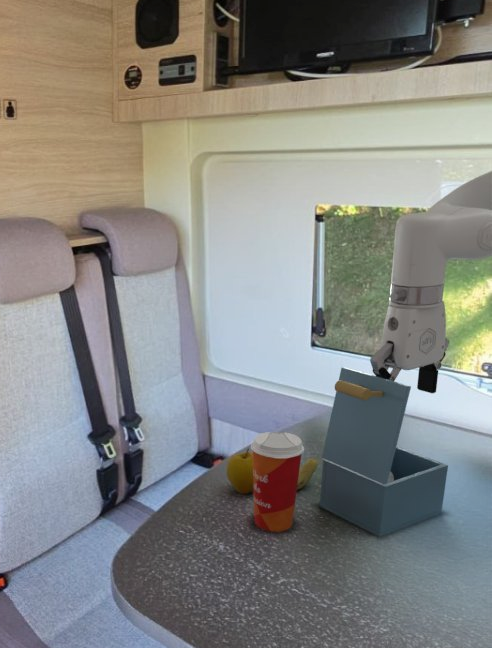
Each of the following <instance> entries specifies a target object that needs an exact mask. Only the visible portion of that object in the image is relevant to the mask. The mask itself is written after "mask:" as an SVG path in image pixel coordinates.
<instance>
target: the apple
mask: <svg viewBox="0 0 492 648" xmlns="http://www.w3.org/2000/svg"><path fill="white" fill-rule="evenodd" d="M226 476H227V479H228V481H229V483H230V484H231V485H232V486H233V488H234V489H235V490H236V491H237V492H238V493H239V494H240V495H247V494H251V493H254V483H253V452H252V451H251V452H250V448H249V447H248V448H247V450H246V451H245V452H240V453H236V454H234V455H232V456H231V457H230V458H229V460H228V462H227V464H226Z"/></svg>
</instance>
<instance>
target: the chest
mask: <svg viewBox="0 0 492 648" xmlns="http://www.w3.org/2000/svg"><path fill="white" fill-rule="evenodd" d="M448 468H449V465H448V464H446V463H443V462H440V461H439V460H435V459H432V458H430V457H427V456H424V455H422V454H418V453H416V452H413V451H411V450H409V449H406V448H403V447H400V446H398V445H397V446H396V450H395V454H394V458H393V462H392V466H391V470H390V471H391V473H392V474H393V477H394V480H393V481H392V482H389V483H387V484H382V483H380V482H377V481H375V480H373V479H370V478H368V477H366V476H363V475H361V474H359V473H357V472H354V471H352V470H350V469H347V468H345V467H343V466H341V465H338V464H336V463H334V462H331V461H329V460H327V459H323V460H322V469H321V471H322V472H321V483H320V484H321V485H320V497H319V500H320V501H319V507H320V508H323V509H324V510H325V511H326V510H327V511H328V512H330V513H332V514H334V515H336V516H338V517H340V518H342V519H344V520H346V521H348V522H350V523H352V524H353V525H356V526H357V527H360V528H361V529H363V530H365V531H367V532H369V533H371V534H373V535H375V536H376V537H379V538H380V537H383V536H385V535H388V534H391V533H393V532H396V531H398V530H401V529H404V528H406V527H409V526H412V525H414V524H417V523H419V522H422V521H424V520H425V521H426V520H427V519H430V518H432V517H435V516H437V515H441V514H442V511H443V504H444V498H445V497H444V496H445V489H446V485H447V484H446V483H447V477H448V476H447V475H448V471H449V469H448Z"/></svg>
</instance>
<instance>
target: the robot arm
mask: <svg viewBox="0 0 492 648" xmlns="http://www.w3.org/2000/svg"><path fill="white" fill-rule="evenodd" d="M392 255H393V257H392V267H391V281H390V291H389V304H388V307H387V309H386V310H387V311H386V314H385V318H384V324H383V327H382V328H383V329H382V334H381V343H380V348H379V350H378V351H376V352H375V353H374V354H373V355H372V356H371V357H370V359H369V362H370V365H371V368H372V373H373V374H374V376H377V377H380V378H384V379H387V380H391V381H394V382H396V379H397V378H398V376H399V374H400V373H401V371H411V370H415V369H418V368H419V369H418V376H417V385H416V389H417V390H419V391H421V392H426V393H429V394H435V393H436V392H437V387H438V378H439V370H440V369H441V368H442V362H443V360H444V359H445V357H446V352H447V349H448V348H449V344H450V341H451V340H450V339H449V338H447V337H446V335H447V334H446V332H447V331H446V330H447V329H446V328H447V317H446V315H447V314H446V304H445V301H444V300H443V298H444V287H445V279H446V269H447V261H448V260H471V261H472V260H473V261H476V260H483V259H486V258H489V257H492V170H490V171H488V172H486V173H483V174H481V175H478V176H476V177H474V178H472V179H470V180H468V181H467V182H465V183H463V184H461V185H460V186H458V187H457V188H455V189H453V190H452V191H450V192H449V193H448V194H446V195H445V196H443V197H442V198H441V199H439V200H437V202H435V203H434V204H433V205H432V206H430V208H429V209H428V210H427V211H425V212H413V213H412V212H411V213H406V214H403V215H402V216H400V217H399V218H398V219H397V221H396V224H395V231H394V243H393V254H392ZM389 369H392V370H391V371H390V372H389Z"/></svg>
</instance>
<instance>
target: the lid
mask: <svg viewBox="0 0 492 648" xmlns="http://www.w3.org/2000/svg"><path fill="white" fill-rule="evenodd" d="M411 388H412V386H411V385H408V384H405V383H402V382H397V381H391V380H387V379H384V378H380V377H377V376H376V375H373V374H370V373H366V372H362V371H359V370H356V369H352V368H348V367H344V366H343V367H341V368H340V372H339V377H338V381H336V382H335V384H334V391H335V396H334V399H333V403H332V404H333V405H332V409H331V414H330V419H329V422H328V427H327V432H326V436H325V441H324V445H323V450H322V455H321V458H322V459H323V460H325V459H327V460H329V461H331V462H334V463H336V464H338V465H341V466H343V467H345V468H347V469H350V470H352V471H354V472H357V473H359V474H361V475H363V476H366V477H368V478H370V479H373V480H375V481H377V482H380V483H382V484H387V482H388V478H389V474H390V470H391V466H392V462H393V458H394V454H395V450H396V446H398V445H397V444H398V442H399V438H400V433H401V429H402V425H403V421H404V416H405V414H406V409H407V405H408V401H409V397H410V393H411Z"/></svg>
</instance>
